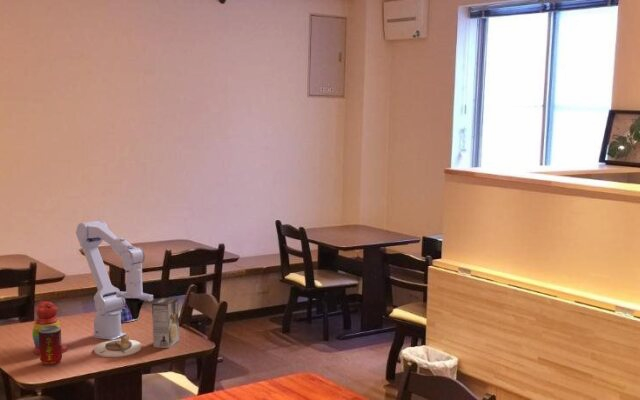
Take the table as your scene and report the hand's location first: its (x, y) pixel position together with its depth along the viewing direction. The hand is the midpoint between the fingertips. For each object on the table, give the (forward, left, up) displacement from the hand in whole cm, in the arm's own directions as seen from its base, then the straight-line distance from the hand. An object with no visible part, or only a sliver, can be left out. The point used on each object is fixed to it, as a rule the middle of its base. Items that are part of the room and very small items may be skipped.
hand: (135, 318), depth 276 cm
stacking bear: (-24, -18, -10) cm, 31 cm away
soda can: (-14, -28, -10) cm, 33 cm away
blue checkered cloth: (-24, +25, -10) cm, 36 cm away
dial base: (-2, -8, -9) cm, 13 cm away
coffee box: (+10, +4, -10) cm, 15 cm away
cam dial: (0, -10, -8) cm, 12 cm away
